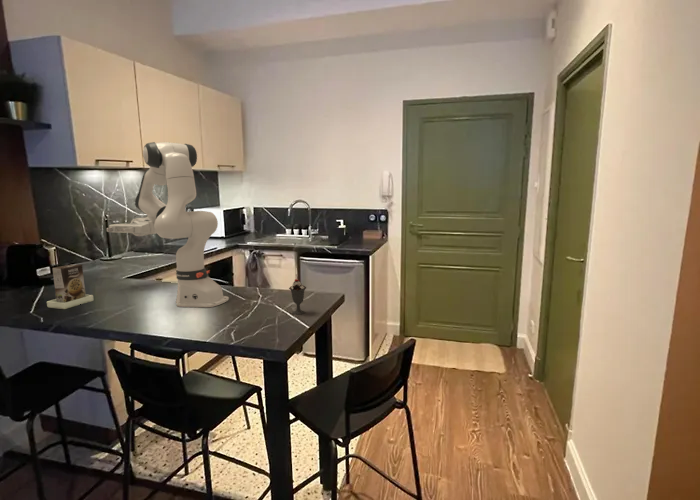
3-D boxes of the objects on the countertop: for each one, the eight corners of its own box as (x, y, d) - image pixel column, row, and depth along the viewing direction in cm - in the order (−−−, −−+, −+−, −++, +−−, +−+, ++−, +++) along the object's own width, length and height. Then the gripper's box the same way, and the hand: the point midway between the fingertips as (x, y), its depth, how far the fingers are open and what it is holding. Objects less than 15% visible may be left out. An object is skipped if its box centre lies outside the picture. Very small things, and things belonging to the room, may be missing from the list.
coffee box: (67, 305, 174) (62, 268, 171) (56, 304, 176) (51, 267, 173) (87, 300, 182) (82, 264, 180) (76, 298, 184) (71, 263, 182)
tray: (93, 300, 183) (92, 295, 183) (64, 309, 171) (63, 303, 171) (76, 298, 187) (76, 293, 186) (47, 307, 174) (46, 301, 174)
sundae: (298, 308, 166) (297, 272, 164) (310, 312, 162) (309, 274, 160) (286, 313, 161) (284, 275, 159) (298, 316, 157) (296, 278, 155)
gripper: (122, 220, 206) (97, 223, 193) (155, 221, 200) (131, 223, 187) (124, 232, 207) (99, 236, 194) (156, 233, 201) (132, 237, 188)
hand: (115, 230), depth 190 cm, fingers open, 8 cm apart
